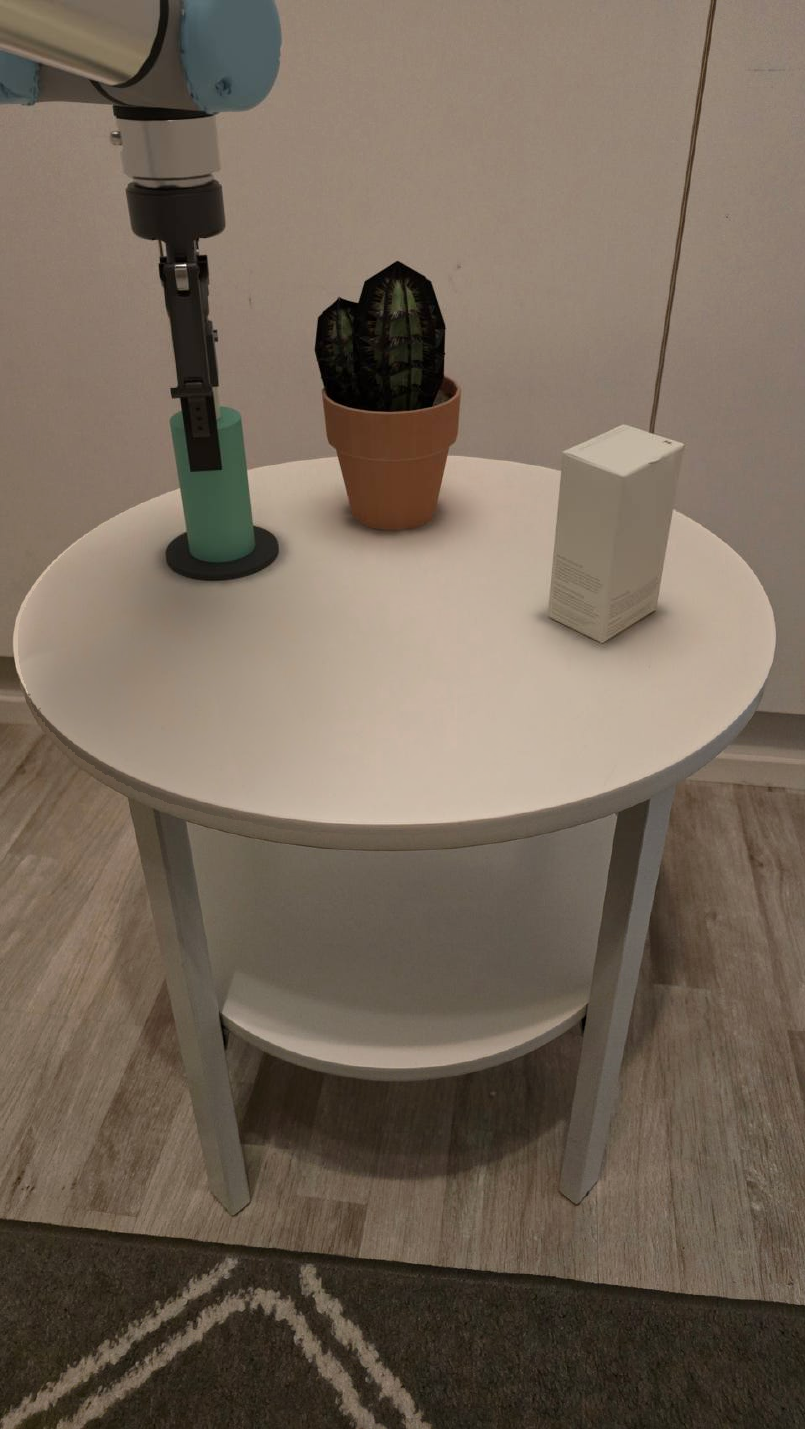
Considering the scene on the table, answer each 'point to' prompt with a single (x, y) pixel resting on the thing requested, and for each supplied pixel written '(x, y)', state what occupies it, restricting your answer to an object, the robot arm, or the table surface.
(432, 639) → the table surface
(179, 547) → the black round coaster
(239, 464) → the spray bottle
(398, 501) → the potted plant
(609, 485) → the cosmetic box
